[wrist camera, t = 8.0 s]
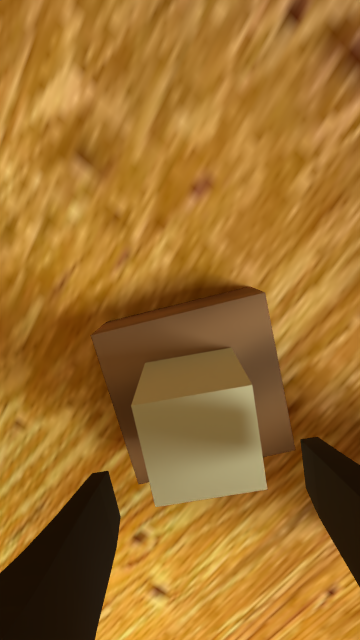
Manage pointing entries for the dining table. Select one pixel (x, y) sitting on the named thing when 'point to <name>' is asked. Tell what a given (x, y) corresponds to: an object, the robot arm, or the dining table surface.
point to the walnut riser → (192, 338)
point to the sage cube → (198, 428)
